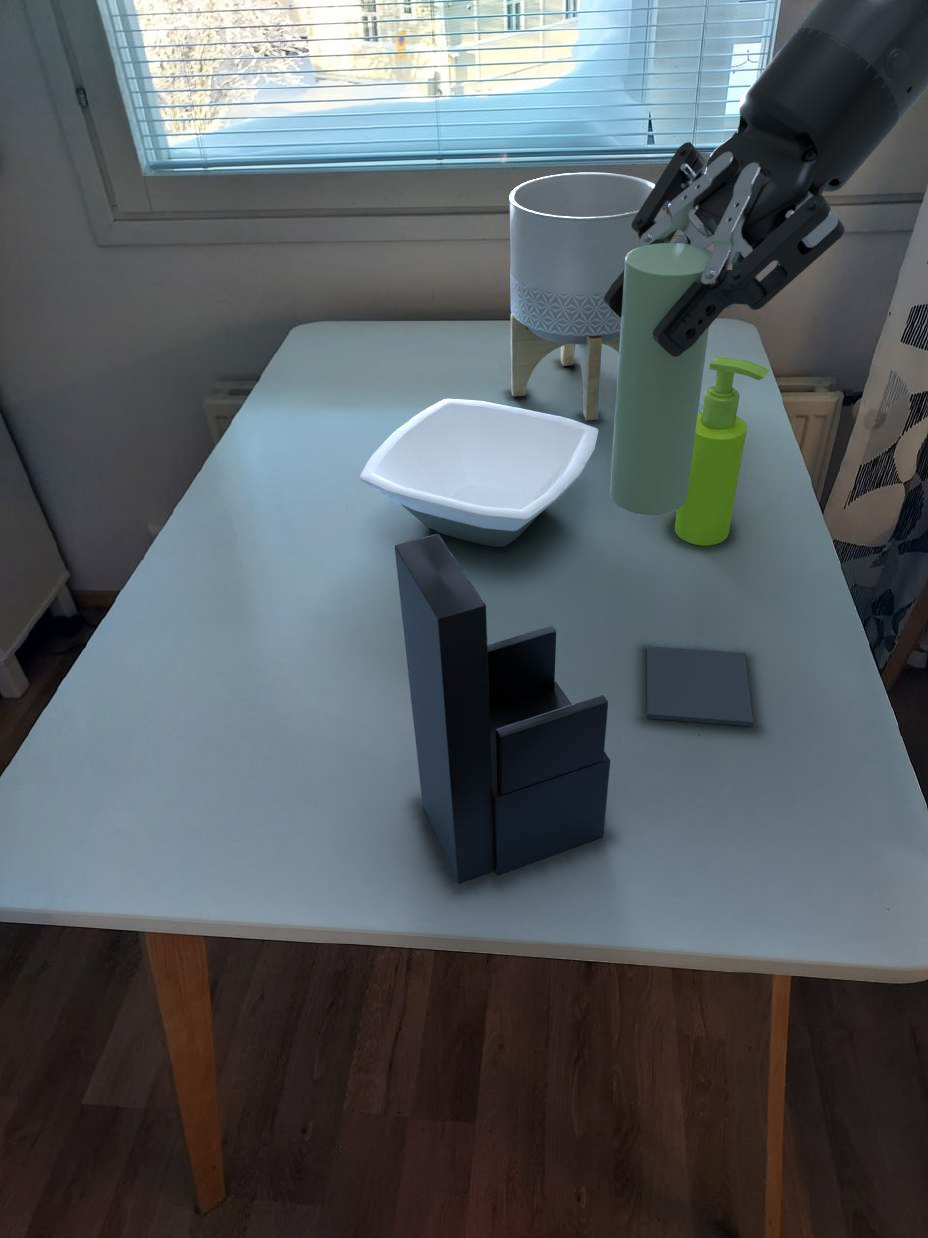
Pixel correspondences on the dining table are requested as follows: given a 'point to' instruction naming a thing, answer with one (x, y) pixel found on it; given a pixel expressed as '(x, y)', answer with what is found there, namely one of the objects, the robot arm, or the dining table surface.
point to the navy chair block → (494, 727)
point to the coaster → (698, 686)
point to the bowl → (480, 467)
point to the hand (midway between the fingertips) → (638, 327)
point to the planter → (569, 270)
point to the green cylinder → (655, 383)
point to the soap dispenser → (716, 457)
